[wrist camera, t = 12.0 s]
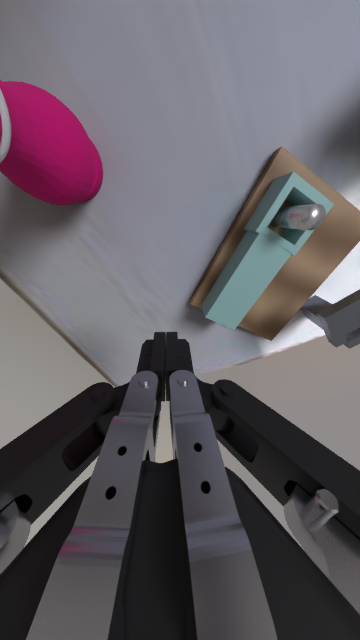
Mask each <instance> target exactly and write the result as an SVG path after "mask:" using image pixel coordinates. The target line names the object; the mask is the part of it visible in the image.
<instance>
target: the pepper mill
mask: <svg viewBox="0 0 360 640" xmlns="http://www.w3.org/2000/svg"><path fill="white" fill-rule="evenodd" d="M0 171H1V172H2V173H3V174H4V175H5V176H6V177H7V178H9V179H10V180H11V181H12V182H13V183H14V184H15V185H16V186H18V187H19V188H20V189H22V190H24V191H25V192H27V193H29V194H30V195H32V196H34V197H35V198H37V199H40V200H42V201H45V202H49V203H52V204H57V205H69V204H73V203H76V202H83V201H87V200H89V199H91V198H93V197H94V196H95V195H96V194H97V193H98V191H99V189H100V187H101V184H102V179H103V168H102V162H101V159H100V156H99V153H98V151H97V149H96V147H95V146H94V144H93V143H92V141H91V140H90V139H89V138H88V136H87V134H86V131H85V130H84V128H83V126H82V125H81V123H80V122H79V120H78V119H77V118H76V116H75V115H74V114H73V113H72V112H71V111H70V109H69V108H67V107H66V106H65V105H64V104H63V103H62V102H61V101H59V100H58V99H57V98H56V97H55V96H53V95H51V94H50V93H48V92H47V91H45V90H43V89H41V88H38V87H36V86H34V85H30V84H27V83H24V82H14V81H12V82H2V81H1V80H0Z"/></svg>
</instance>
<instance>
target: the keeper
mask: <svg viewBox="0 0 360 640" xmlns="http://www.w3.org/2000/svg"><path fill="white" fill-rule="evenodd" d="M301 309H302V311H303V313H304V315H305V316H306V317H307V318H308V319H310V320H311V321H312V322H314V323H315V324H316V325H318V326H319V327H321V328H322V329H323V330H324V332H325V334H326V336H327V339H328V341H329V342H330V343H331V344H332V345H334V346H335V347H338V346H340V345H342V344H344V345H345V346H347V347H348V348H352V347H354V346H356V345H358V344H360V290H358V291H356V292H354V293H353V294H351V295H349V296H347V297H345V298H344V299H342V300H340V301H338V302H337V303H335V304H331V303H329V302H327V301H325V300H323V299H322V298H320V297H318V296H316V295H315V296H313V297H312V298H310V299H308V300H307V301H306V302H305V303H304V304H303V306H302V307H301Z"/></svg>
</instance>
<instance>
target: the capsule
mask: <svg viewBox="0 0 360 640" xmlns="http://www.w3.org/2000/svg"><path fill="white" fill-rule="evenodd" d="M325 216H326V209H325V207H324V206H323V205H321V204H310V205H299V206H287V207H280V208H279V210H278V211H277V213H276V214H275V216H274V217H273V219H272V220H271V222H270V224H269V225H270V226H272V227H279V228H289V229H299V230H314V229H316V228H318V227H319V226H320V225H321V224H322V223H323V221H324V219H325Z"/></svg>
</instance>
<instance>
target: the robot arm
mask: <svg viewBox="0 0 360 640" xmlns="http://www.w3.org/2000/svg"><path fill="white" fill-rule="evenodd" d="M165 384H166V401H170V423H171V435H172V447H173V460H171V461H168V462H165V463H156V462H155V451H156V443H157V435H158V427H159V420H160V411H161V401H165ZM217 439H218V440H219V441H220V442H221V443H222V444H223V446H225V447H226V448H227V449H228V451H229V452H230V453H231V454H232V455H233V456H234V457H235V458H237V460H238V461H239V462H240V463H241V464H242V465H243V466H244V467H245V468H246V469H247V470H248V471H249V472H250V473H251V474H252V475H253V476H254V477H255V478H256V479H257V480H258V481H259V482H260V483H261V484H262V485H263V486H264V487H265V488H266V489H267V490H268V491H269V492H270V493H271V494H272V495H273V496H274V497H275V498H276V499H277V500H278V501H279V502H280V503H281V504H282V505H283V506H284V514H285V519H286V522H287V524H288V526H289V528H290V530H291V531H292V534H293V535H294V536H295V538H296V539H297V540H298V542H299V543H300V544H301V546H302V547H303V549H304V550H303V549H302V548H301V547H300V546H299V544H298V543H297V542H296V541H295V540H294V539H293V538H292V537H291V536H290V534H289V533H288V532H287V531H286V530H285V529H284V527H283V526H282V525H281V524H280V523H279V522H278V520H277V519H276V518H275V517H274V516H273V515H272V514H271V512H270V511H269V510H268V509H267V508H266V507H265V506H264V504H262V502H261V501H260V500H259V499H258V498H257V497H256V495H255V494H254V493H253V492H252V491H251V490H250V489H249V488H248V486H247V485H246V484H245V483H244V482H243V481H242V480H241V478H239V477H238V476H237V475H236V474H235V473H234V472H233V471H231V470H230V469H228V468H227V467H225V466H224V463H223V460H222V456H221V453H220V449H219V445H218V442H217ZM98 456H99V457H98ZM96 457H98V460H97V462H96V465H95V468H94V471H93V473H92V476H91V477H89V478H88V479H87V480H86V481H85V482H83V483H82V484H81V485H80V486H79V487H78V488H77V489H76V490H75V491H74V492H73V493H72V495H71V496H70V497H69V498H68V499H67V500H66V501H65V502H64V504H63V505H62V506H61V507H60V508H59V509H58V510H57V511H56V512H55V514H54V515H53V516H52V517H51V518H50V519H49V520H48V521H47V523H46V524H45V525H44V526H43V527H42V528H41V529H40V530H39V532H38V533H37V534H36V535H35V536H34V537H33V538H32V539H31V541H30V542H29V543H28V544H27V545H26V546H25V547H24V545H25V543H26V541H27V539H28V536H29V532H30V526H31V524H32V523H33V522H34V521H35V520H36V519H37V518H38V517H39V516H40V515H41V514H42V513H43V512H44V511H45V510H46V509H47V508H48V507H49V506H50V505H51V504H52V503H53V502H54V501H55V499H57V498H58V497H59V496H60V495H61V494H62V492H64V491H65V489H66V488H67V487H68V486H69V485H70V484H71V483H72V482H73V481H74V480H75V479H76V478H77V477H78V476H79V475H80V474H81V473H82V472H83V471H84V470H85V469H86V468H87V467H88V466H89V465H90V464H91V462H93V461H94V460H95V459H96ZM0 640H360V471H359V470H358V469H356V468H355V467H354V466H352V465H351V464H349V463H348V462H346V461H345V460H344V459H342V458H341V457H339V456H338V455H336V454H335V453H334V452H332V451H331V450H329V449H328V448H326V447H325V446H324V445H322V444H321V443H319V442H318V441H317V440H315V439H314V438H312V437H311V436H310V435H308V434H307V433H305V432H304V431H302V430H301V429H299V428H298V427H297V426H295V425H294V424H292V423H291V422H290V421H288V420H287V419H285V418H284V417H283V416H281V415H280V414H278V413H277V412H276V411H274V410H273V409H271V408H270V407H268V406H267V405H266V404H264V403H263V402H261V401H260V400H258V399H257V398H256V397H254V396H253V395H251V394H250V393H248V392H247V391H246V390H244V389H243V388H241V387H240V386H238V385H237V384H236V383H234V382H232V381H230V380H218V381H217V382H215V383H214V385H213V384H209V383H204V382H202V381H200V380H199V379H197V378H196V376H195V375H194V372H193V366H192V360H191V353H190V347H189V343H188V342H187V341H186V340H185V339H178V337H177V332H155V333H154V340H146V341H145V342H144V343H143V344H142V348H141V353H140V358H139V363H138V367H137V372H136V374H135V375H134V376H133V377H132V378H131V380H130V382H129V383H127V384H125V385H122V386H118V387H115V388H113V387H112V385H111V384H109V383H105V382H101V383H96V384H94V385H92V386H90V387H89V388H87V389H86V390H84V391H83V392H81V393H80V394H78V395H77V396H76V397H74V398H73V399H71V400H70V401H69V402H67V403H66V404H64V405H63V406H61V407H60V408H58V409H57V410H56V411H54V412H53V413H51V414H50V415H49V416H47V417H46V418H44V419H43V420H41V421H40V422H38V423H37V424H36V425H34V426H33V427H31V428H30V429H28V430H27V431H26V432H24V433H23V434H21V435H20V436H18V437H17V438H16V439H14V440H13V441H11V442H10V443H8V444H7V445H6V446H4V447H3V448H1V449H0Z"/></svg>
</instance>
